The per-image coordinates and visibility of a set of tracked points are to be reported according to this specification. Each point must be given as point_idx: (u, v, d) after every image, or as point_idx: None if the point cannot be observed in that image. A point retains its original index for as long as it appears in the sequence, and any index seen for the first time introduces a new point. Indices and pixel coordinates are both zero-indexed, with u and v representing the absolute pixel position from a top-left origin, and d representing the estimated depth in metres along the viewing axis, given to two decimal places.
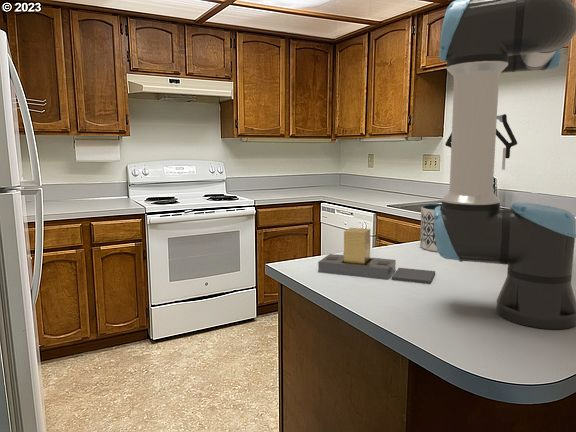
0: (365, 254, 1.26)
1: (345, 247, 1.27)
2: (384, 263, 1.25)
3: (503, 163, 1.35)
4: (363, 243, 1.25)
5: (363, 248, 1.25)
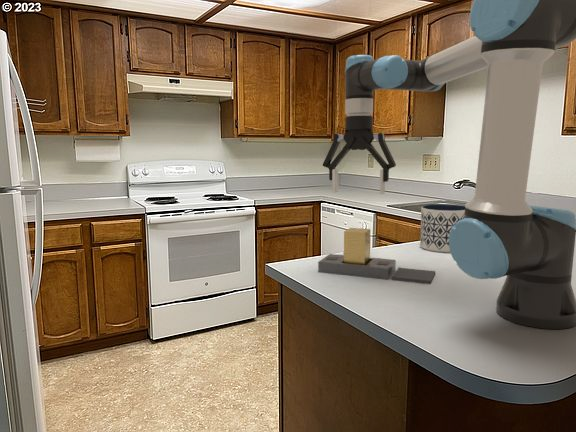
0: (365, 254, 1.26)
1: (345, 247, 1.27)
2: (384, 263, 1.25)
3: (380, 187, 1.22)
4: (363, 243, 1.25)
5: (363, 248, 1.25)
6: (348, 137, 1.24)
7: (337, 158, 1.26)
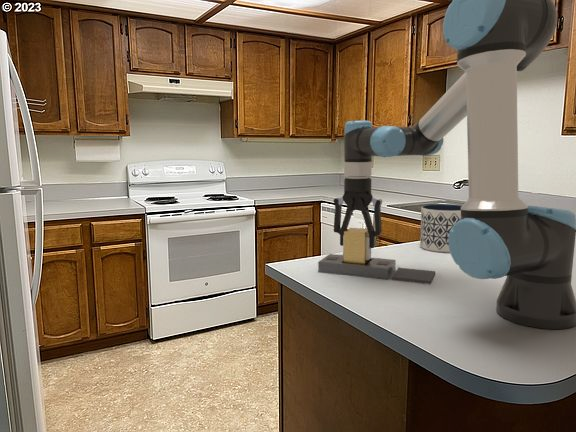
0: (365, 254, 1.26)
1: (345, 247, 1.27)
2: (384, 263, 1.25)
3: (367, 253, 1.26)
4: (363, 243, 1.25)
5: (363, 248, 1.25)
6: (347, 197, 1.26)
7: (344, 222, 1.28)
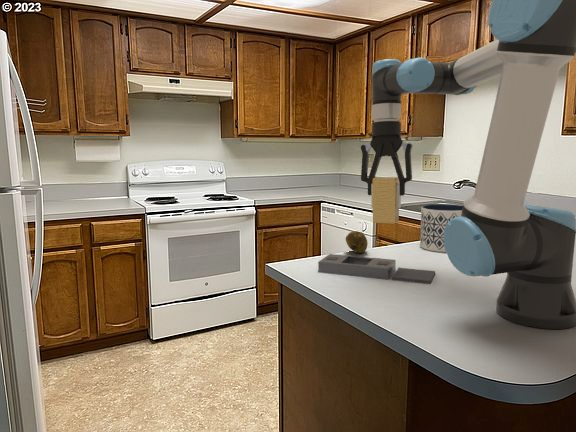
0: (395, 201, 1.20)
1: (374, 195, 1.21)
2: (384, 263, 1.25)
3: (397, 201, 1.20)
4: (393, 189, 1.18)
5: (393, 195, 1.19)
6: (375, 143, 1.20)
7: (372, 170, 1.22)
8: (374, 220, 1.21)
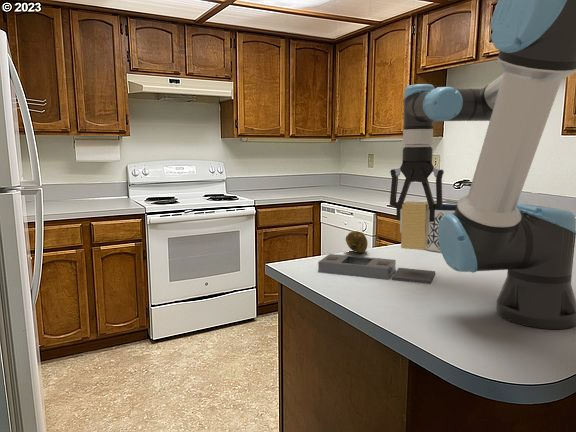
0: (425, 228, 1.18)
1: (403, 221, 1.19)
2: (384, 263, 1.25)
3: (427, 227, 1.18)
4: (424, 216, 1.17)
5: (423, 221, 1.17)
6: (406, 168, 1.19)
7: (402, 195, 1.20)
8: (403, 246, 1.20)
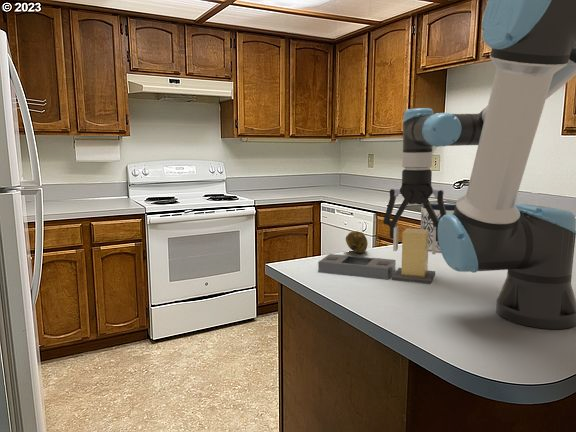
0: (425, 256, 1.19)
1: (403, 249, 1.20)
2: (384, 263, 1.25)
3: (433, 247, 1.18)
4: (424, 245, 1.18)
5: (423, 250, 1.18)
6: (405, 190, 1.19)
7: (397, 215, 1.21)
8: (403, 273, 1.21)
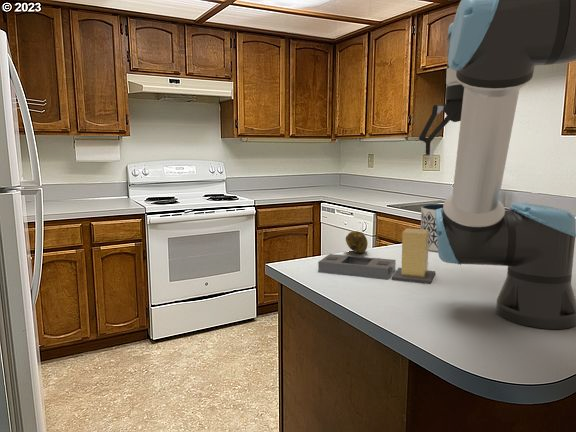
0: (425, 256, 1.19)
1: (403, 249, 1.20)
2: (384, 263, 1.25)
3: None
4: (423, 245, 1.18)
5: (423, 250, 1.18)
6: (449, 108, 1.17)
7: (436, 131, 1.19)
8: (403, 273, 1.21)
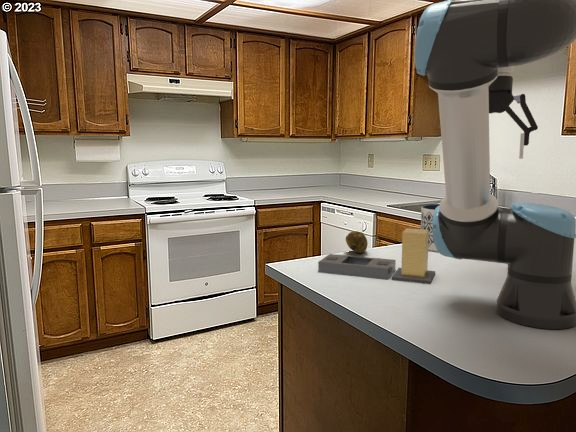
0: (425, 256, 1.19)
1: (403, 249, 1.20)
2: (384, 263, 1.25)
3: (521, 151, 1.16)
4: (423, 245, 1.18)
5: (423, 250, 1.18)
6: None
7: None
8: (403, 273, 1.21)
